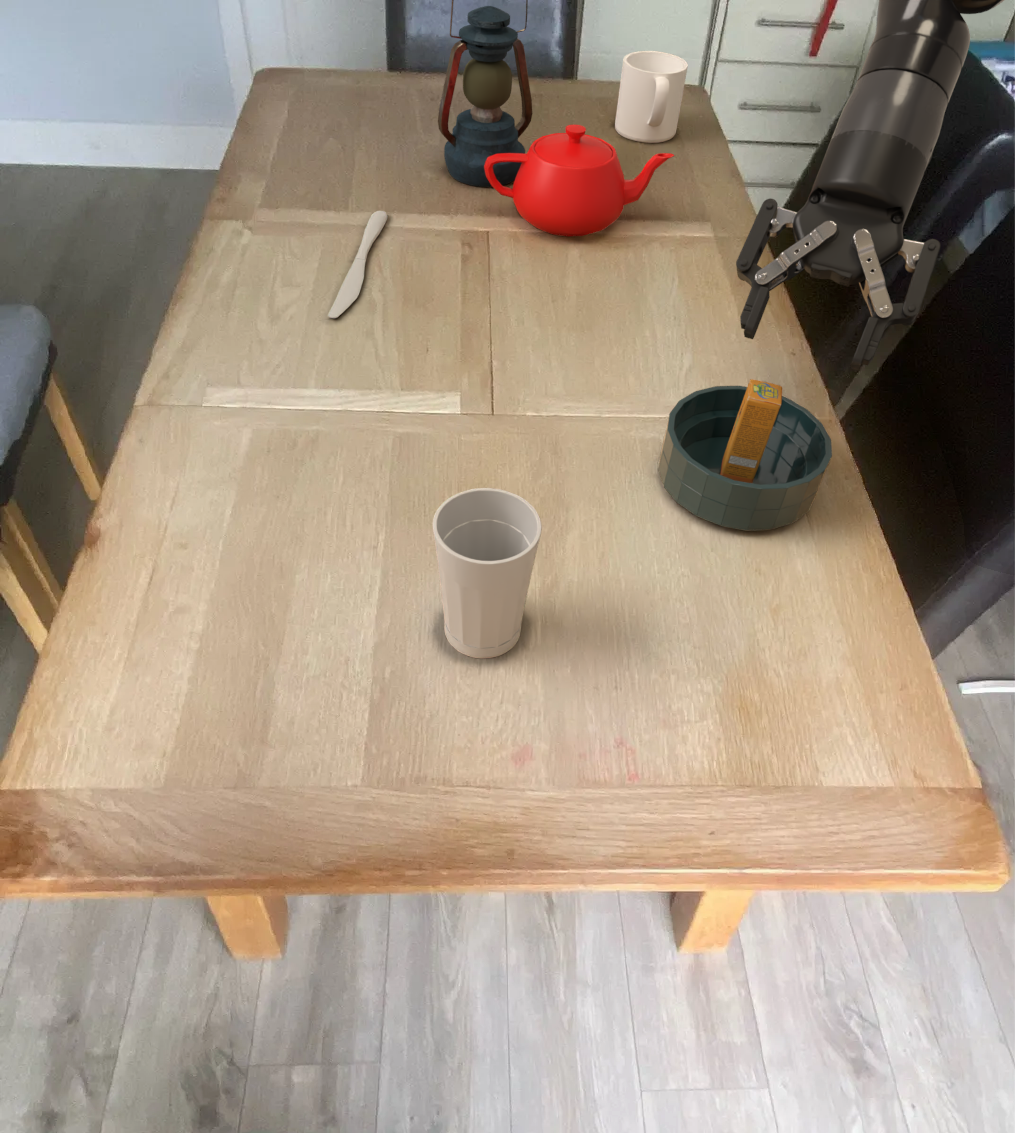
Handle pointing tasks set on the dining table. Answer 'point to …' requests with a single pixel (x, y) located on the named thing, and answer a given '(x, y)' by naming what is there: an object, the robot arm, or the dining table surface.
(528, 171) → the teapot
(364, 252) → the butter knife
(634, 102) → the mug
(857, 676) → the dining table surface
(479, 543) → the cup
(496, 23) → the lantern
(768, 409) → the supplement box
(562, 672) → the dining table surface
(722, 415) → the bowl
